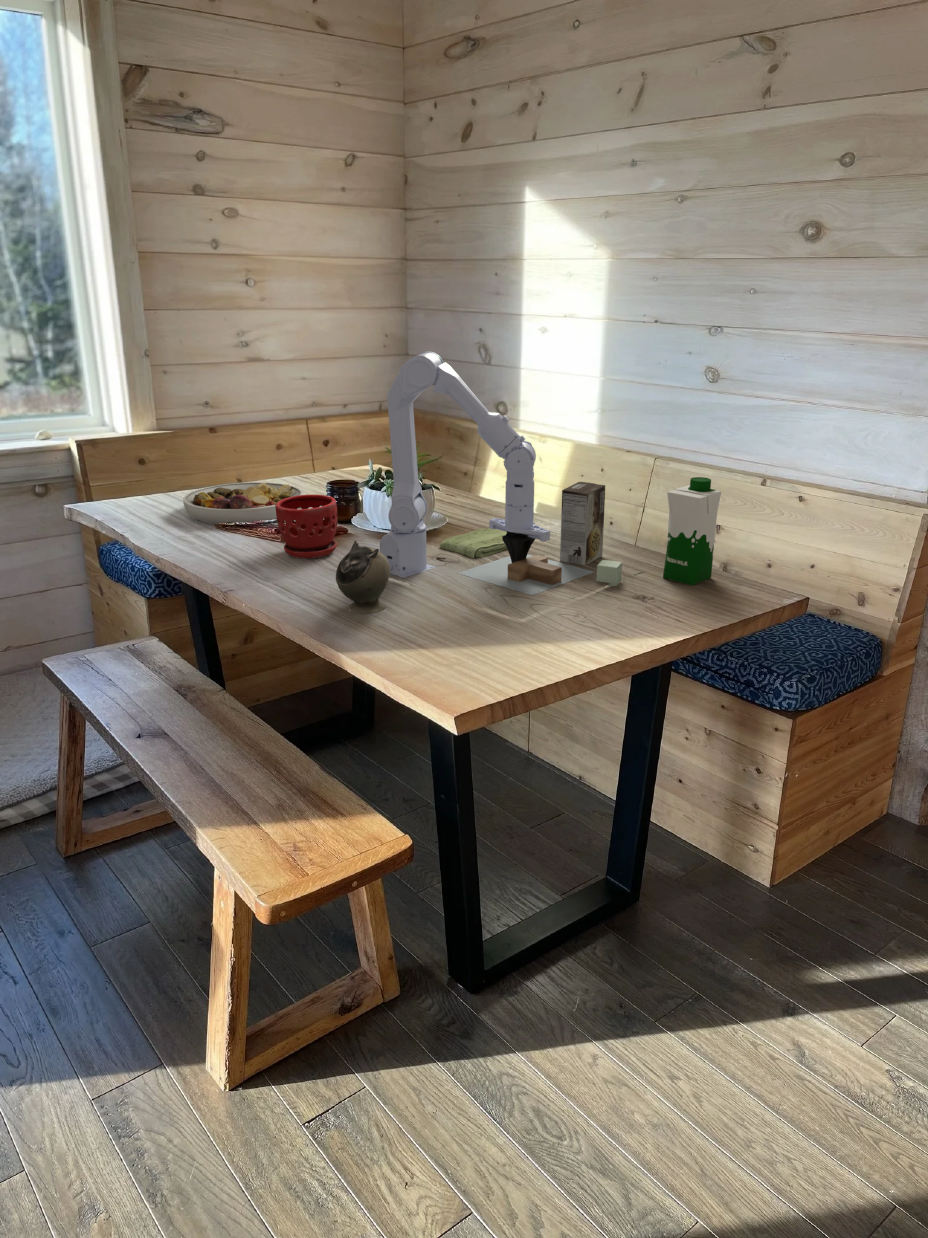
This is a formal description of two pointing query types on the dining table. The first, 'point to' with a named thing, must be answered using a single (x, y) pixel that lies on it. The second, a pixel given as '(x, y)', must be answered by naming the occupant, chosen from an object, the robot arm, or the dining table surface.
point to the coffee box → (582, 523)
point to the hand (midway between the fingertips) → (518, 568)
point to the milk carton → (691, 531)
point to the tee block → (535, 570)
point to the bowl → (237, 501)
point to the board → (499, 576)
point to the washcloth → (476, 543)
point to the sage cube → (609, 572)
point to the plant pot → (307, 525)
